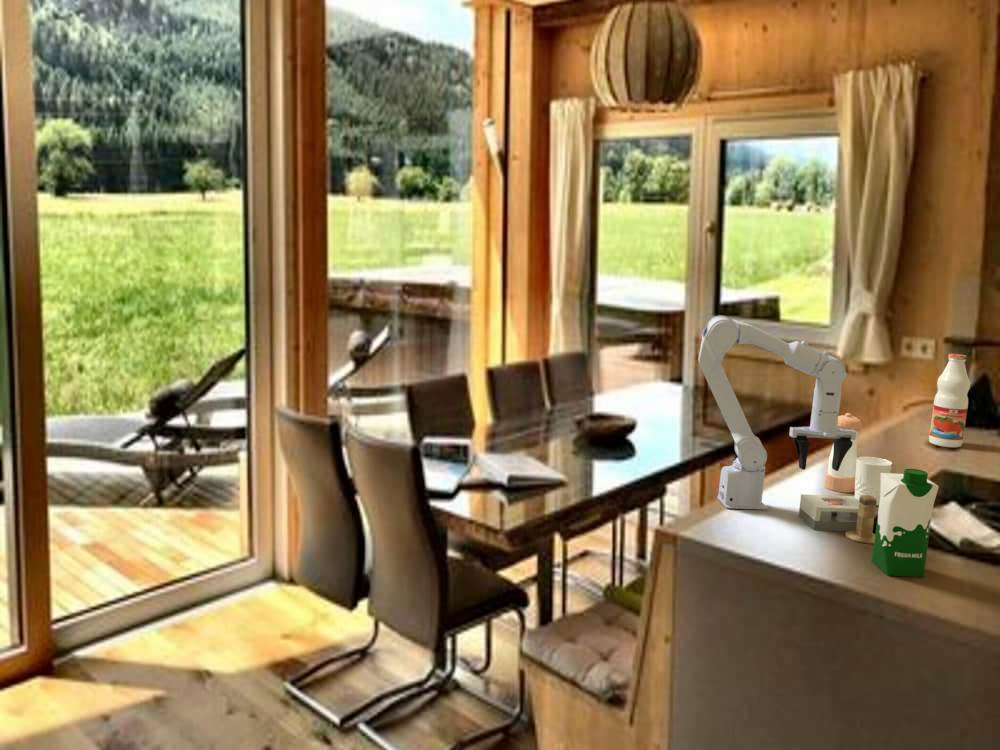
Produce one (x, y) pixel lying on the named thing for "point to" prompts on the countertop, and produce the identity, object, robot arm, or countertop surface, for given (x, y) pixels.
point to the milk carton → (904, 523)
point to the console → (829, 512)
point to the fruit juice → (950, 404)
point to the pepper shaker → (844, 459)
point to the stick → (866, 516)
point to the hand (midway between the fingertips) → (818, 469)
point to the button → (834, 504)
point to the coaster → (856, 538)
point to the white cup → (870, 476)
